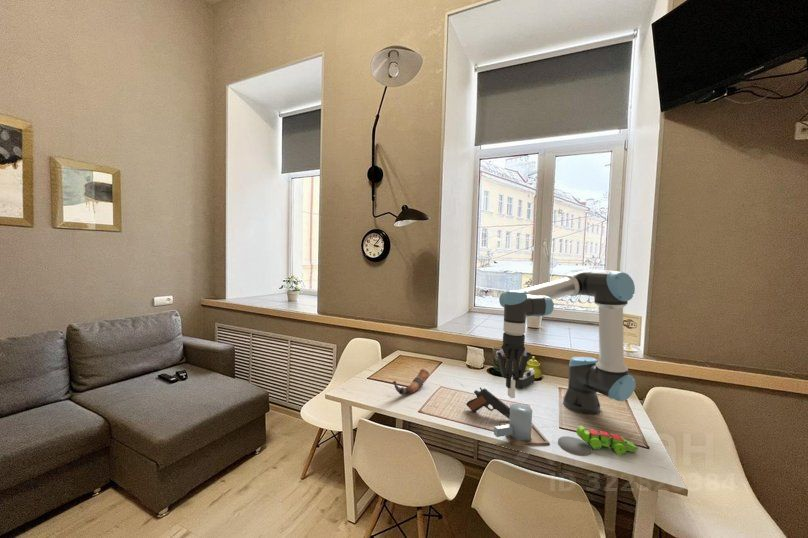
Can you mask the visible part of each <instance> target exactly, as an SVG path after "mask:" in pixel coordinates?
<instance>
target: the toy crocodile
mask: <svg viewBox="0 0 808 538" xmlns="http://www.w3.org/2000/svg"><path fill="white" fill-rule="evenodd" d="M585 429H586V428H585V427H584V426H583V425H579V426H577V428H576V435H577V436H578V438H579V439H580V440H583V441H584V442H586V443H589V445H590V447H591V448H593V449H594V450H600V449H602V446H603V447H607V448H609V447H610V446H611V448H612V449H613V451H614V452H615V453H616V454H617V455H623V456H624V455H626V453H627V451H628V452H631V453H632V452H633V453H635V452H636V451H638V448H639V447H637V445H635V444H634V443H633V442H632V441H629V440H627V439H625V438H624V437H623V436H622V435H621V436H620V434H615V433H608V432H607V431H603V430H599V431H597V430H596V429H589V430H588V429H587V430H585Z"/></svg>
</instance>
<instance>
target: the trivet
mask: <svg viewBox="0 0 808 538" xmlns="http://www.w3.org/2000/svg"><path fill="white" fill-rule="evenodd" d="M557 442H558V443H557V444H558V446H559V447H560V448H561V449H562V450H564V451H566V452H568V453H570V454H573V455H576V456H589V455H591V454H592V451H593V449H592V446H591V445H590V443H588V442H585V441H583V440H582V439H581V438H579V437H574V436H567V435H565V436H561V437H559V438H558V440H557Z"/></svg>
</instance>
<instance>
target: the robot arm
mask: <svg viewBox="0 0 808 538" xmlns="http://www.w3.org/2000/svg"><path fill="white" fill-rule="evenodd" d="M635 289H636V288H635V283H634V280H633V278H632V277H631V276H630V275H629V274H628V273H627V272H624V271H619V270H618V271H616V270H605V269H603V270H600V269H599V270H598V269H587V270H581V271H577V272H574V273H573V272H572V273H570V274H566V275H564V276H562V278H561V279H560V278H559V279H557V280H553V281H550V282H545V283H541V284H538V285H533V286H530V287H526V288H522V289H518V290H516V289H515V290H505V291H502V292H501V294H500V295H499V301H498V302H499V304H500V306H501V307H503V329H502V330H503V333H502V346H501V348H500V349H499V350H496V351H494V353H495V355H496V357H497V361H498V364H499V365H498V367H499V370H500V374H501V375H500V376H502V377H503V378H504V379H505V387H506V388H507V396H508V397H509V398H510V399H515V398H516V397H515V396H516V389H518V388H517V384H518V381H519V378H523V376H524V372H525V369H526V367H527V365H528V360H529V358H530V357H531V356H532V353H531V352H529V351H528V350H526V347H525V343H526V341H525V339H526V335H525V333H526V320H527V319H526V318H527V317H544V316H549V315H552V313H553V311H554V307H555V306H554V301H553V300H556V299H559V298H562V297H567V296H569V297H574V296H587V297H588V296H589V297H592V298H594V299H593V300H594V304H595V305H596V306H597V307H598V347H599V350H598V352H599V356H598V357H599V359H597V358H594V357H590V356H572V357H571V358H570V359H569V365H568V380H567V381H568V383H567V385H568V386H567V389H566V391H565V394H564V396H563V400H562V401H563V402H562V403H563V405H564V406H565V407H566V408H567V409H569V410H571V411H575V412H577V413H581V414H586V415H597V414H599V413H600V412H601V404H600V401H599V397H598V394H601V395H603V396H605V397H608V398H609V399H611V400H615V401H617V402H624V401H627V400H628V399H629V398H630V397H631V396H632V395H633V393H634V391H635V390H636V380H635V378H634V377H633V376H632V375H631V374H629V367H628V366H627V365H626V364H625V363H624V360H625V359H624V356H625V355H624V307H626V306H627V305H628V301H630V300H632V299H633V297H634V294H635V293H636V292H635ZM504 355H505V359H506V362H505V359H504ZM505 363H506V364H505ZM512 377H513V378H512Z"/></svg>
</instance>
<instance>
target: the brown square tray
mask: <svg viewBox="0 0 808 538" xmlns="http://www.w3.org/2000/svg"><path fill="white" fill-rule="evenodd" d="M506 424H509V422H499V424H498V426H500V425H506ZM531 437H532V440H528V441H516V440H515V439H514V438H513V437H512V436H511V435H507V436H506V438H507V439H508V441H509V442H510V444H511V446H513V447H514V446H515V447H517V446H519V447H520V446H522V447H523V446H549V445H550V441H549V440H548V439H547V438H546V437H545V436H544V434H543V433H542V432H540V430H539V429H538V427H536V426H535V424H534V423H533V422H532V426H531Z"/></svg>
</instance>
